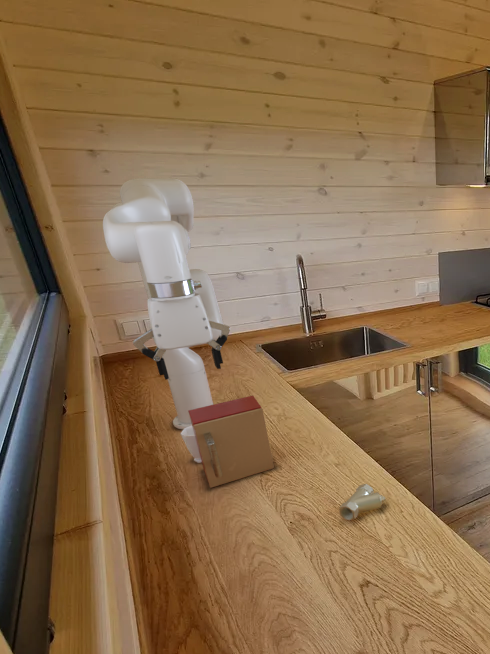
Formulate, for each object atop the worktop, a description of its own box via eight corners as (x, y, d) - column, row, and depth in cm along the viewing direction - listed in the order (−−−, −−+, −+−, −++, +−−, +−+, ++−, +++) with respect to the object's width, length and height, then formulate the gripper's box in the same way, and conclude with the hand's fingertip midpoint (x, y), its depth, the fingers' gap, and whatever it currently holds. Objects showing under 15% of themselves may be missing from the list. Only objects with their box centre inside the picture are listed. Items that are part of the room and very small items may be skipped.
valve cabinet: (273, 466, 117) (261, 406, 111) (209, 486, 110) (193, 423, 104) (264, 452, 123) (253, 395, 117) (204, 470, 116) (188, 410, 110)
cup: (189, 468, 117) (180, 439, 114) (186, 450, 125) (178, 422, 122) (220, 460, 121) (213, 431, 117) (216, 443, 128) (209, 415, 125)
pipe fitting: (388, 504, 104) (360, 496, 105) (388, 489, 102) (359, 481, 104) (369, 527, 97) (339, 518, 98) (369, 512, 95) (338, 503, 97)
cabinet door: (281, 479, 112) (269, 418, 106) (215, 501, 105) (198, 437, 98) (273, 466, 117) (261, 407, 111) (209, 486, 110) (193, 424, 104)
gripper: (217, 282, 102) (233, 359, 109) (119, 293, 93) (143, 377, 100) (223, 286, 97) (241, 368, 103) (119, 299, 88) (145, 387, 94)
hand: (193, 372), depth 101 cm, fingers open, 9 cm apart
